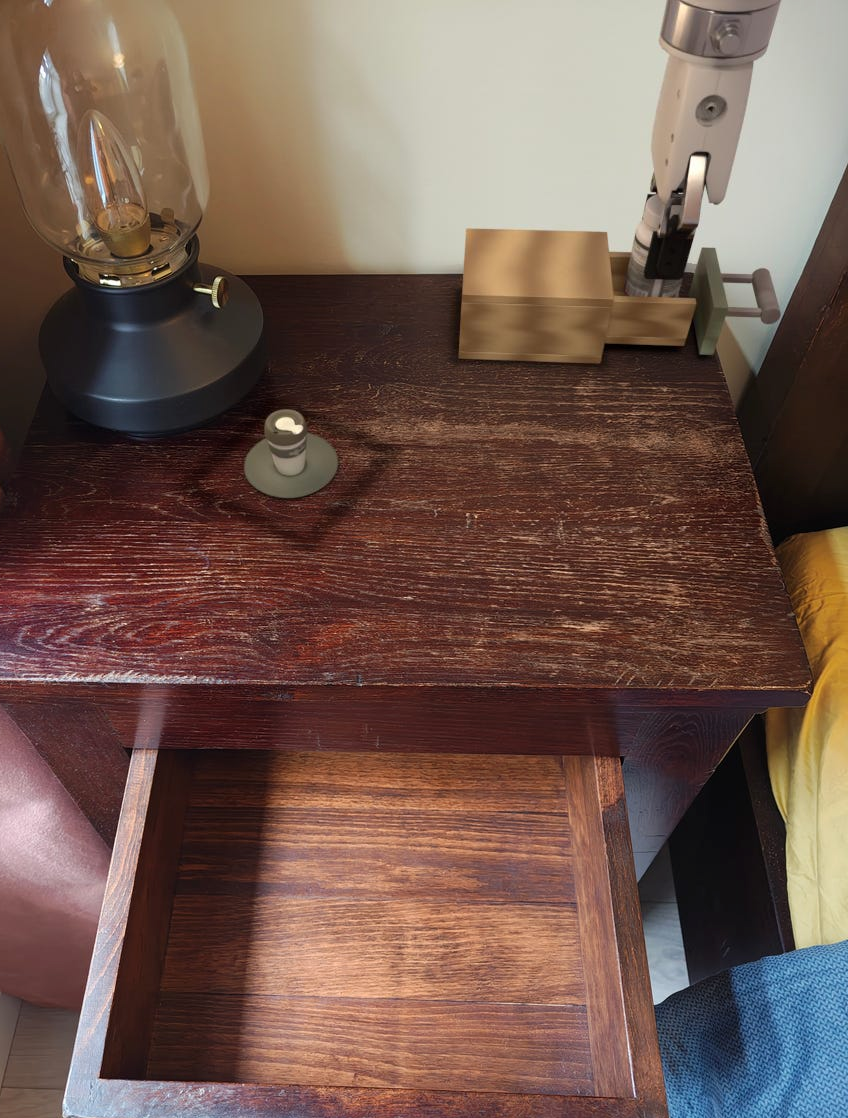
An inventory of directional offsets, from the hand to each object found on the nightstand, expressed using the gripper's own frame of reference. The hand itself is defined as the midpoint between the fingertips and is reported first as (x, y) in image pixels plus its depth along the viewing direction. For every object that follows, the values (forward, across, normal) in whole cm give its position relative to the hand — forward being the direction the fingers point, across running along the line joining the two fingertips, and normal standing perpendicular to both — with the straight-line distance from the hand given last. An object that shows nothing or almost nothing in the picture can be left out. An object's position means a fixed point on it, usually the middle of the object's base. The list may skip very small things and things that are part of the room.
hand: (660, 256), depth 81 cm
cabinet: (+7, 0, +10) cm, 13 cm away
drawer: (+7, 0, -2) cm, 7 cm away
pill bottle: (+4, 0, 0) cm, 4 cm away
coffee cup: (+8, -20, +30) cm, 37 cm away
